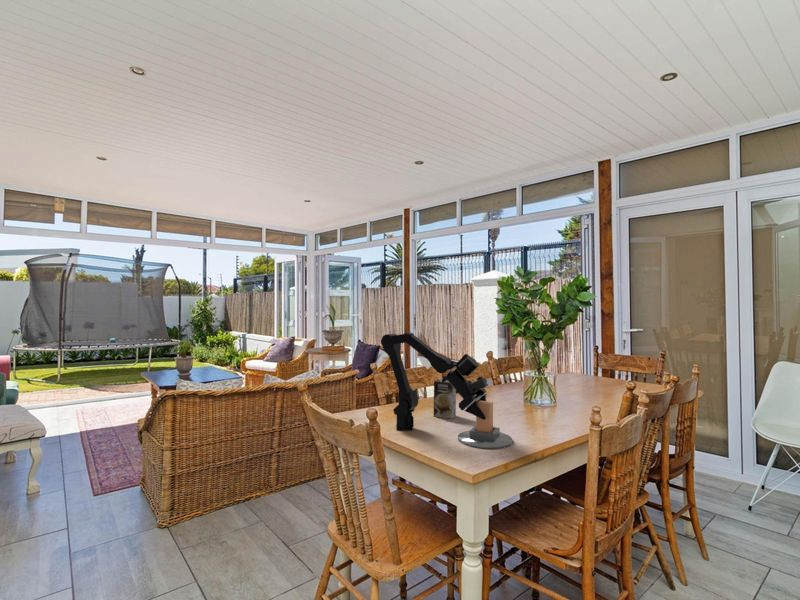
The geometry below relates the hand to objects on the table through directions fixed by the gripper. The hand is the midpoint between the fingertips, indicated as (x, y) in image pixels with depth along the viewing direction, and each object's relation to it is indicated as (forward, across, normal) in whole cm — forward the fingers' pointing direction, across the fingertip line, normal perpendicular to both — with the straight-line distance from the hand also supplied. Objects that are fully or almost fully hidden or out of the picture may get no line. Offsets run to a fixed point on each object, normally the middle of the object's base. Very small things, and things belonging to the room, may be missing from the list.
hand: (488, 416), depth 161 cm
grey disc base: (+5, 0, +7) cm, 9 cm away
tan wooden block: (+5, 0, +7) cm, 8 cm away
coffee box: (-13, +27, +26) cm, 39 cm away
